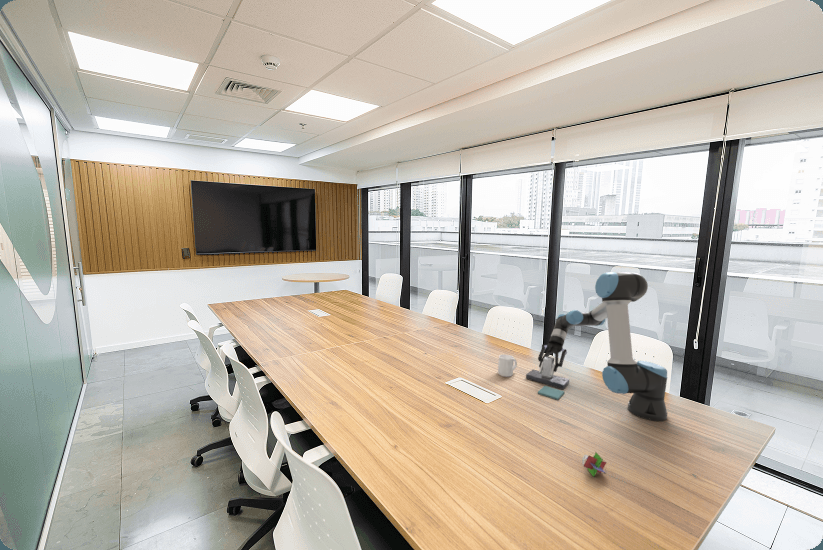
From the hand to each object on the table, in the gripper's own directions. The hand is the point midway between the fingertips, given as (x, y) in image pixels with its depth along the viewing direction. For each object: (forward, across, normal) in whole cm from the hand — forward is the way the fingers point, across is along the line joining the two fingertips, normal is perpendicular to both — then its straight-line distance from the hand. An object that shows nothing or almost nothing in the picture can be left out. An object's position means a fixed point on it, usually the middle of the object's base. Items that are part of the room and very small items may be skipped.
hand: (545, 374), depth 190 cm
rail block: (+1, 0, -6) cm, 6 cm away
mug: (+5, +20, -2) cm, 21 cm away
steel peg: (+1, 0, -6) cm, 6 cm away
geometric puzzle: (+48, -38, +40) cm, 73 cm away
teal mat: (+11, -7, +4) cm, 13 cm away
